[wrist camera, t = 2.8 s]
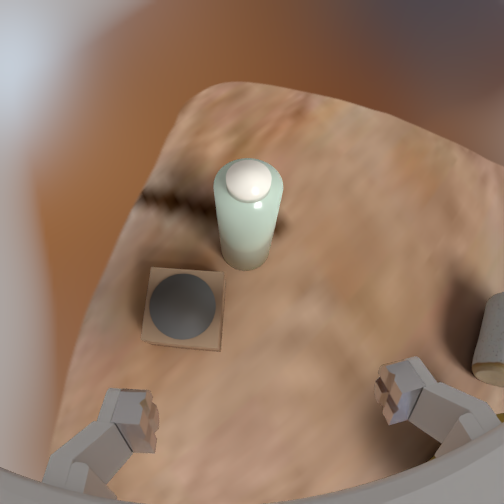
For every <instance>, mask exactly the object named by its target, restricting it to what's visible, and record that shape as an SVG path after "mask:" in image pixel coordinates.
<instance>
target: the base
mask: <svg viewBox="0 0 504 504" xmlns="http://www.w3.org/2000/svg"><path fill="white" fill-rule="evenodd" d="M225 288H226V281H225V275H224V272H215V271H200V270H186V269H173V268H159V267H151V271H150V277H149V283H148V290H147V296H146V303H145V310H144V317H143V325H142V333H141V340H142V341H144V342H147V343H149V344H152V345H160V346H168V347H177V348H186V349H195V350H206V351H218V352H221V338H222V325H223V312H224V300H225Z"/></svg>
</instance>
